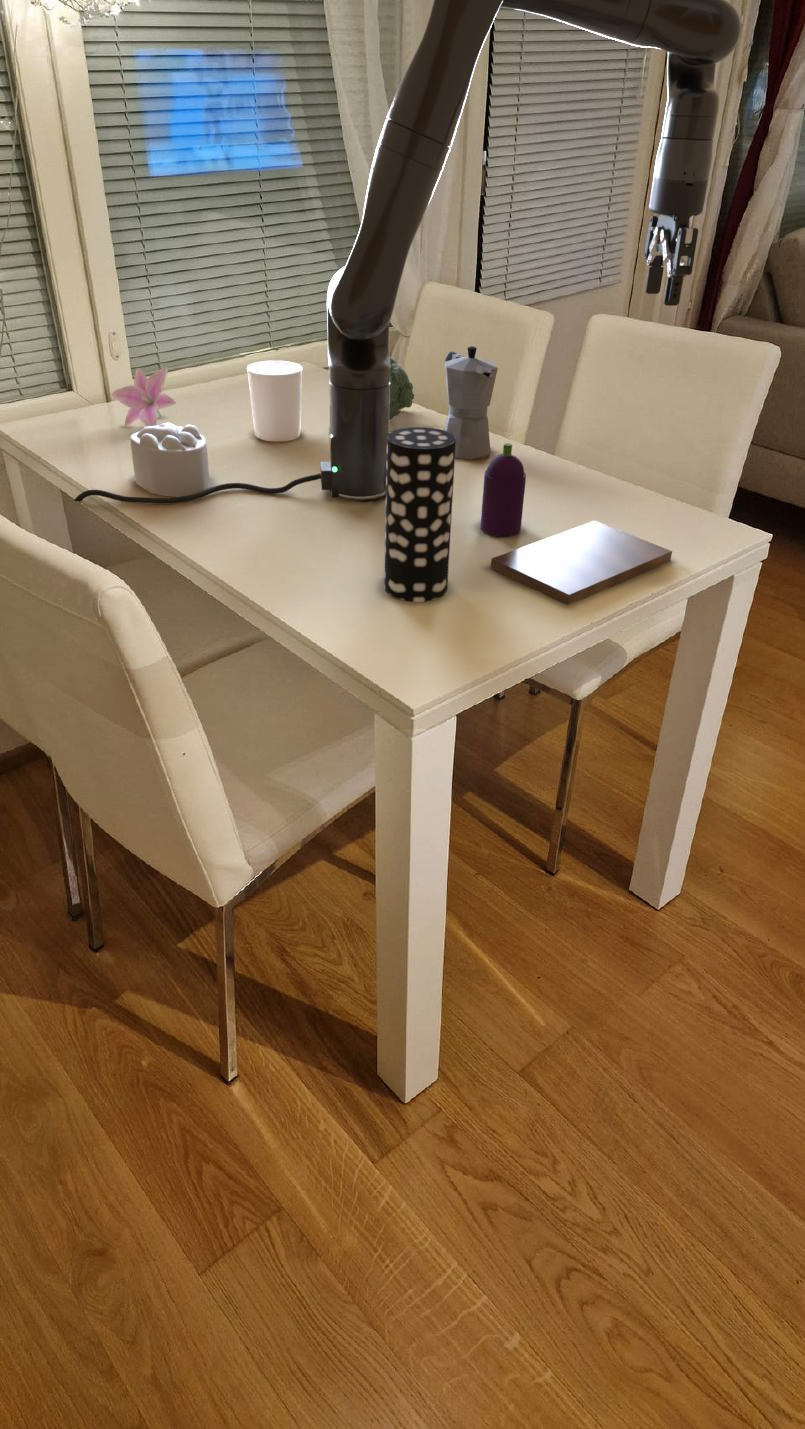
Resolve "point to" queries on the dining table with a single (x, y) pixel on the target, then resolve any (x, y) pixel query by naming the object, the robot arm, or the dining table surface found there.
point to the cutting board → (580, 561)
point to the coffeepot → (469, 402)
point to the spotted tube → (418, 512)
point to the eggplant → (503, 495)
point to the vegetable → (399, 389)
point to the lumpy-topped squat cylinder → (170, 460)
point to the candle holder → (276, 399)
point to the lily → (144, 397)
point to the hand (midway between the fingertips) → (661, 299)
